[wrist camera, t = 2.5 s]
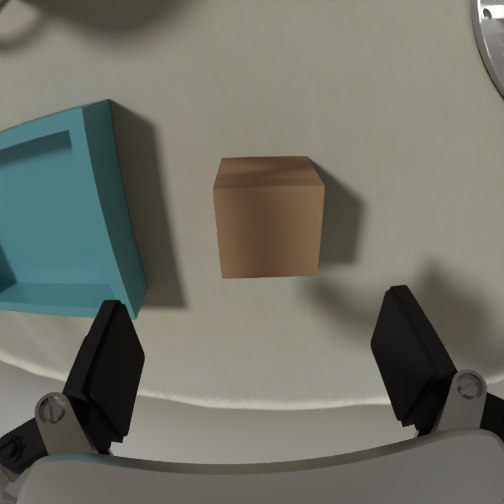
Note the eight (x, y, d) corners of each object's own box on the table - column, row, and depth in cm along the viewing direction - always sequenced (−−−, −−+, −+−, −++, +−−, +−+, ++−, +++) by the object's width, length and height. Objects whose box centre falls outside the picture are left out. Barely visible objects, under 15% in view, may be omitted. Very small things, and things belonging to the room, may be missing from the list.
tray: (109, 98, 15) (81, 107, 12) (148, 287, 23) (135, 319, 20) (-42, 149, 16) (-69, 165, 13) (6, 284, 23) (-11, 308, 20)
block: (306, 156, 18) (324, 186, 14) (303, 229, 21) (317, 275, 16) (221, 158, 18) (212, 188, 14) (227, 231, 21) (221, 278, 16)
